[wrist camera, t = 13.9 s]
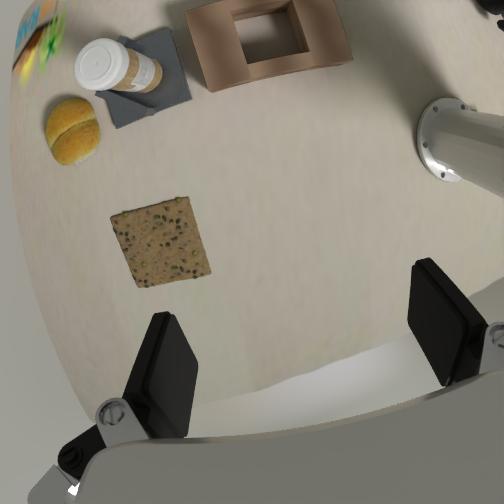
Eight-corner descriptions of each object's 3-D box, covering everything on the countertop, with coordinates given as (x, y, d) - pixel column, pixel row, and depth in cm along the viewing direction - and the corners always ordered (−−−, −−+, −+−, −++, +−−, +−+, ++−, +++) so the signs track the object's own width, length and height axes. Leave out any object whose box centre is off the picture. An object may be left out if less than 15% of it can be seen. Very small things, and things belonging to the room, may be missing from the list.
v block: (170, 27, 27) (161, 17, 23) (193, 101, 32) (186, 100, 28) (98, 59, 28) (82, 55, 24) (119, 130, 33) (105, 133, 29)
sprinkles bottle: (122, 87, 30) (64, 83, 18) (137, 53, 28) (84, 33, 16) (154, 97, 31) (107, 96, 19) (170, 63, 29) (130, 43, 17)
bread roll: (88, 88, 30) (74, 87, 27) (110, 146, 34) (97, 151, 30) (44, 117, 31) (28, 120, 27) (65, 172, 35) (50, 179, 31)
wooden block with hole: (318, -4, 26) (327, -16, 22) (340, 64, 30) (353, 59, 26) (190, 22, 27) (183, 12, 23) (212, 92, 32) (208, 90, 28)
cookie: (213, 273, 43) (213, 276, 42) (139, 287, 44) (137, 290, 43) (190, 193, 38) (188, 195, 37) (110, 215, 38) (107, 218, 38)
